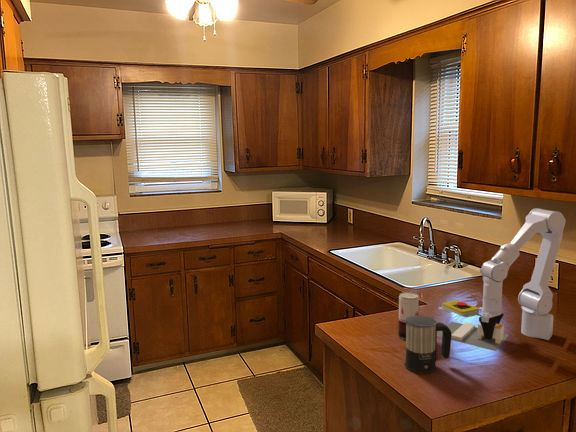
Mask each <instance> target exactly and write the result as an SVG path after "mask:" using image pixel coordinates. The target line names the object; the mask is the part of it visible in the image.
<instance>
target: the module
mask: <svg viewBox="0 0 576 432" xmlns="http://www.w3.org/2000/svg"><path fill="white" fill-rule="evenodd" d="M477 327H478V338H477V339H482V338H483V337H484V333H483V328H482V325H481V323H480V322H479V323H478V324H477ZM504 331H505V325H504V324H500V323H499V324H496V325H495V328H494V332H493V337H492V338H495V339H496V340H495V343H498V344H500V343H501V341H502V340H503V335H504V334H505V333H504Z"/></svg>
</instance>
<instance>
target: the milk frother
mask: <svg viewBox="0 0 576 432" xmlns="http://www.w3.org/2000/svg"><path fill="white" fill-rule="evenodd" d="M405 322H406V339H405V363H404V367H405V368H406V369H407V370H409V371H410V372H412V373H416V374H431V373H433V372H435V371H436V370H437V365H436V362H437V346H438V345H437V339H438V338H437V337H438V336H437V333H438V332H440V331H442V332H443V335H442V337H441V347H440V348H441V349H440V351H441V352H440V354H441V356H442V358H444V359H449V358H450V354H451V346H452V345H451V344H452V340H451V336H452V334H451V330H450V329H449V328H448V326H447V325H446V324H445V323H443V322H440V321H439V322H438V320H436V318H434V317H431V316H429V315H424V314H423V315H420V314H418V315H414V316H409V317H407V318H406V319H405Z"/></svg>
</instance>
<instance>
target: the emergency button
mask: <svg viewBox="0 0 576 432" xmlns="http://www.w3.org/2000/svg"><path fill="white" fill-rule="evenodd" d="M441 305H442V306H439V307H438V308H437V309H438V310H441V311H443V312H444V313H445V312H446V313H448V314H450V313H453V314H456V315H459V316H461V317H465V316H466V317H467V316H469V315H474V316H479V317H480V316H481V317H482V314H480V310H479V308H480V307H477V306H475V305H472V304H470V303H467V302H465V301H463V300H460V299H457V300H451V301H445V302H442V304H441Z"/></svg>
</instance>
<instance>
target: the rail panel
mask: <svg viewBox="0 0 576 432" xmlns="http://www.w3.org/2000/svg"><path fill="white" fill-rule="evenodd" d="M446 326H448V328H449V329H450V330H451V334H452V336H451V341H454V342H459V343H461V344H466V345H470V346H474V347H477V348H481V349H486V350H490V351H494V352H497V350H498V349H499V347H501V345H503V343H504V342H505V341H506V340H507V338H508V337H509V336H510V334H508V333H504V335H503V340H502V341H501V343H500V344H498V343H495V340H496V339H495V338H492V339H491V340H490V339H486V338H485V337H483V338H482V339H477V338H478V326H476V324H474V323H470V322H464V323H460V322H457V321H456V322H454V321H450V322H449V323H448V324H447V325H446ZM442 335H443V332H442V331H437V337H439V338H442Z"/></svg>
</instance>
